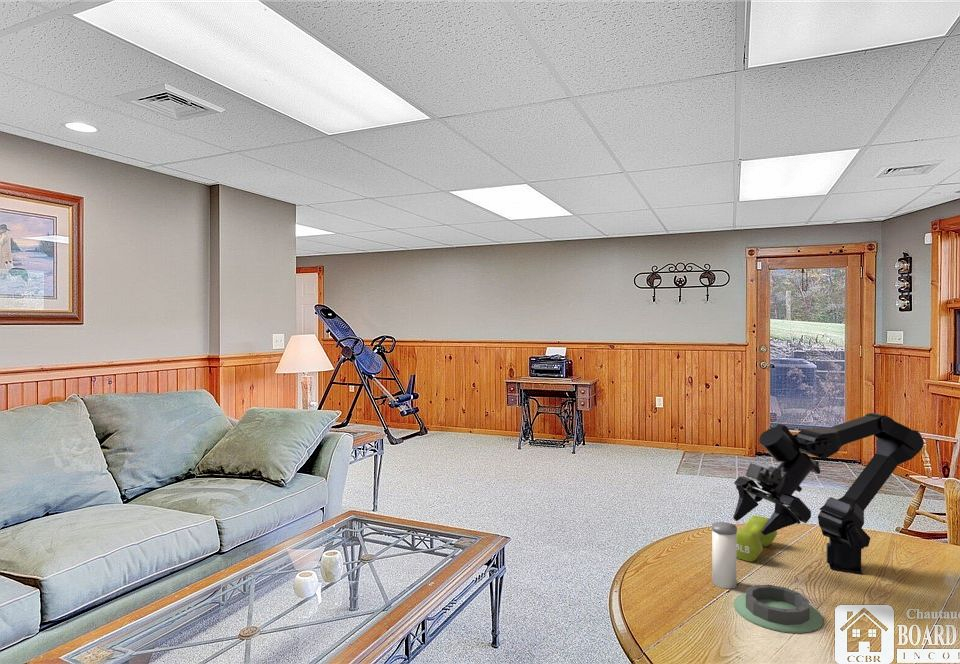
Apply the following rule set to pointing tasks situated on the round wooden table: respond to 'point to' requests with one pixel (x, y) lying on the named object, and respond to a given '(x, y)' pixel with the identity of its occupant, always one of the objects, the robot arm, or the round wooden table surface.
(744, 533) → the dumbbell
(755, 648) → the round wooden table surface
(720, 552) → the white gray-capped cylinder
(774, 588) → the green round disc
